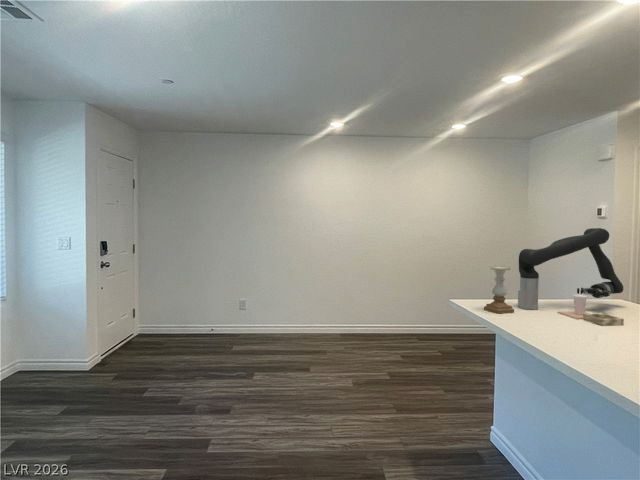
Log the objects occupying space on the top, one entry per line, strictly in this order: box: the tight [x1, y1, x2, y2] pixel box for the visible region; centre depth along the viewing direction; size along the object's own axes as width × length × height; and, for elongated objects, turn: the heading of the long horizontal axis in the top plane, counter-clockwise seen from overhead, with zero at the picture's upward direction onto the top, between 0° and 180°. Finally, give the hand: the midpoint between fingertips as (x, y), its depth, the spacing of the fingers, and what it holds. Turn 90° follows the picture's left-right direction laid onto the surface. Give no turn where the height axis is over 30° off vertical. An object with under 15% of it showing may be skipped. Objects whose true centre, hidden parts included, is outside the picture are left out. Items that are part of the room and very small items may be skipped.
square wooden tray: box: [582, 313, 625, 327], centre depth 196 cm, size 11×11×3 cm
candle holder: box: [483, 266, 515, 315], centre depth 220 cm, size 11×11×24 cm
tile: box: [557, 310, 591, 320], centre depth 210 cm, size 14×14×1 cm
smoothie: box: [572, 286, 588, 315], centre depth 210 cm, size 6×6×14 cm
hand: (587, 293), depth 215 cm, fingers open, 8 cm apart
